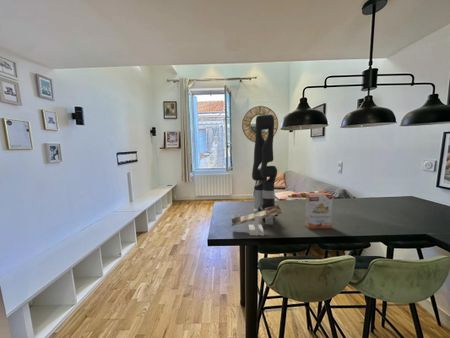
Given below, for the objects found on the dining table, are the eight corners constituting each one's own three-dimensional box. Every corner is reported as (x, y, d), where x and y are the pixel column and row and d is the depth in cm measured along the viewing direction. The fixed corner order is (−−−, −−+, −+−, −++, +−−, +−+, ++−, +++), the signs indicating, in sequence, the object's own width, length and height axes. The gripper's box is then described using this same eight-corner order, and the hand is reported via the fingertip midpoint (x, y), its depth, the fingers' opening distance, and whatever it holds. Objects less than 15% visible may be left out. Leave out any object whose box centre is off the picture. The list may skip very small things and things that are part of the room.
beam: (232, 226, 124) (230, 219, 123) (232, 221, 133) (230, 214, 132) (282, 213, 121) (280, 206, 121) (279, 209, 130) (277, 202, 130)
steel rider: (265, 224, 138) (265, 216, 137) (264, 221, 143) (264, 214, 142) (273, 224, 138) (273, 216, 137) (272, 221, 143) (272, 214, 142)
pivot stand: (249, 235, 122) (249, 215, 120) (248, 226, 135) (248, 208, 133) (263, 235, 121) (263, 215, 120) (261, 226, 134) (261, 208, 133)
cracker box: (308, 229, 128) (309, 195, 126) (304, 225, 134) (305, 192, 132) (332, 228, 128) (333, 194, 126) (327, 225, 134) (328, 192, 132)
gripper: (278, 195, 142) (278, 220, 143) (256, 195, 142) (257, 220, 144) (281, 198, 134) (280, 224, 136) (257, 198, 135) (258, 224, 137)
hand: (268, 222), depth 140 cm, fingers closed on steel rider, 5 cm apart
